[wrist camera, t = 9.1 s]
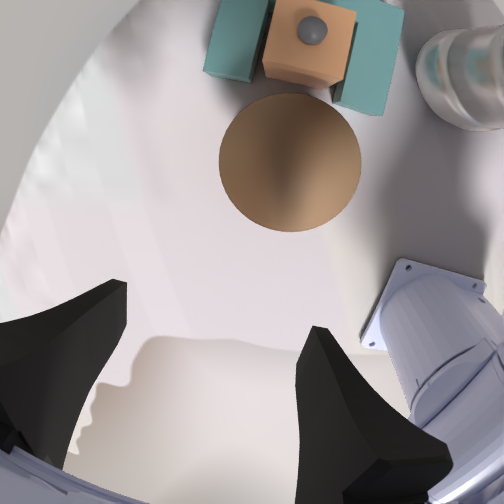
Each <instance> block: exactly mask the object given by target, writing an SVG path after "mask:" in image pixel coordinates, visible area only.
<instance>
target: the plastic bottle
mask: <svg viewBox="0 0 504 504" xmlns="http://www.w3.org/2000/svg"><path fill="white" fill-rule="evenodd" d="M416 77H417V82H418V86H419V88H420V91H421V93H422V95H423V97H424V99H425V101H426V102H427V104H428V105H429V106H430V108H431V109H432V110H433V111H434V112H435V113H436V114H437V115H438V116H439V117H441V118H442V119H443V120H445V121H447V122H449V123H451V124H453V125H455V126H457V127H460V128H462V129H464V130H468V131H492V130H497V129H501V128H503V129H504V25H499V26H491V27H484V28H477V29H453V30H446V31H442V32H440V33H437V34H436V35H434V36H433V37H432V38H431V39H430V40H428V41H427V42H426V43H425V44H424V45H423V47H422V48H421V49H420V51H419V54H418V56H417V61H416Z"/></svg>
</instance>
